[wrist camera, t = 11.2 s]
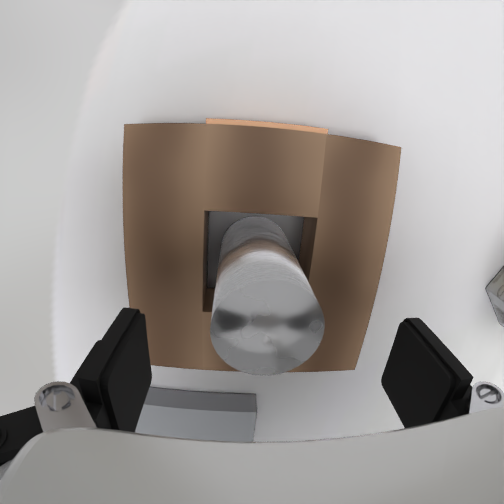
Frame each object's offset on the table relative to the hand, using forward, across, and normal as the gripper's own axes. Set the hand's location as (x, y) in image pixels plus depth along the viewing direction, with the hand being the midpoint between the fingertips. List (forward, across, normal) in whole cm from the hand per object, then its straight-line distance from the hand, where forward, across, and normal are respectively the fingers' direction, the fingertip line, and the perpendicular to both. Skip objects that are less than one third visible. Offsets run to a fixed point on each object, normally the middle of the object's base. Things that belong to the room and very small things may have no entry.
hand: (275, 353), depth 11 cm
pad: (+10, +4, +16) cm, 19 cm away
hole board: (+9, 0, -1) cm, 9 cm away
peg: (+9, 0, -1) cm, 9 cm away
